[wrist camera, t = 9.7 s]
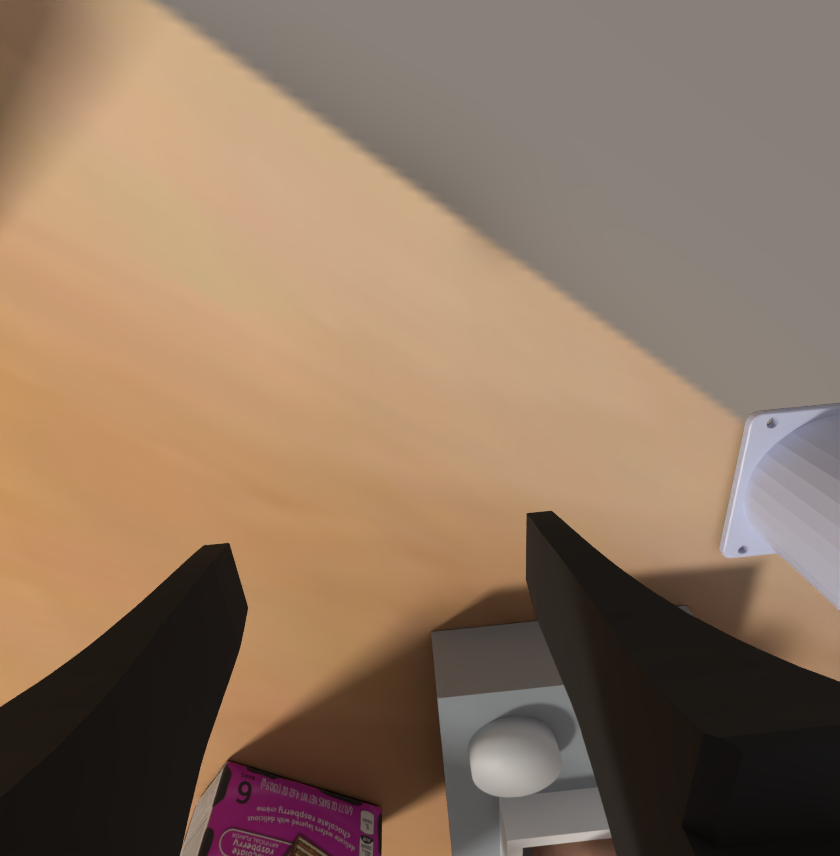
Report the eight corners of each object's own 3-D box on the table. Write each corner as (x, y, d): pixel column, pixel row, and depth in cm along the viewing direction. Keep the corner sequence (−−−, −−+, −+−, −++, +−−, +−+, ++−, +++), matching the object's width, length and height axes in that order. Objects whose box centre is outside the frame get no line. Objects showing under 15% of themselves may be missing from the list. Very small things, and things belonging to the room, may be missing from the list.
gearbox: (686, 605, 28) (758, 705, 22) (646, 818, 36) (692, 929, 31) (430, 631, 28) (441, 739, 22) (450, 840, 36) (461, 956, 30)
